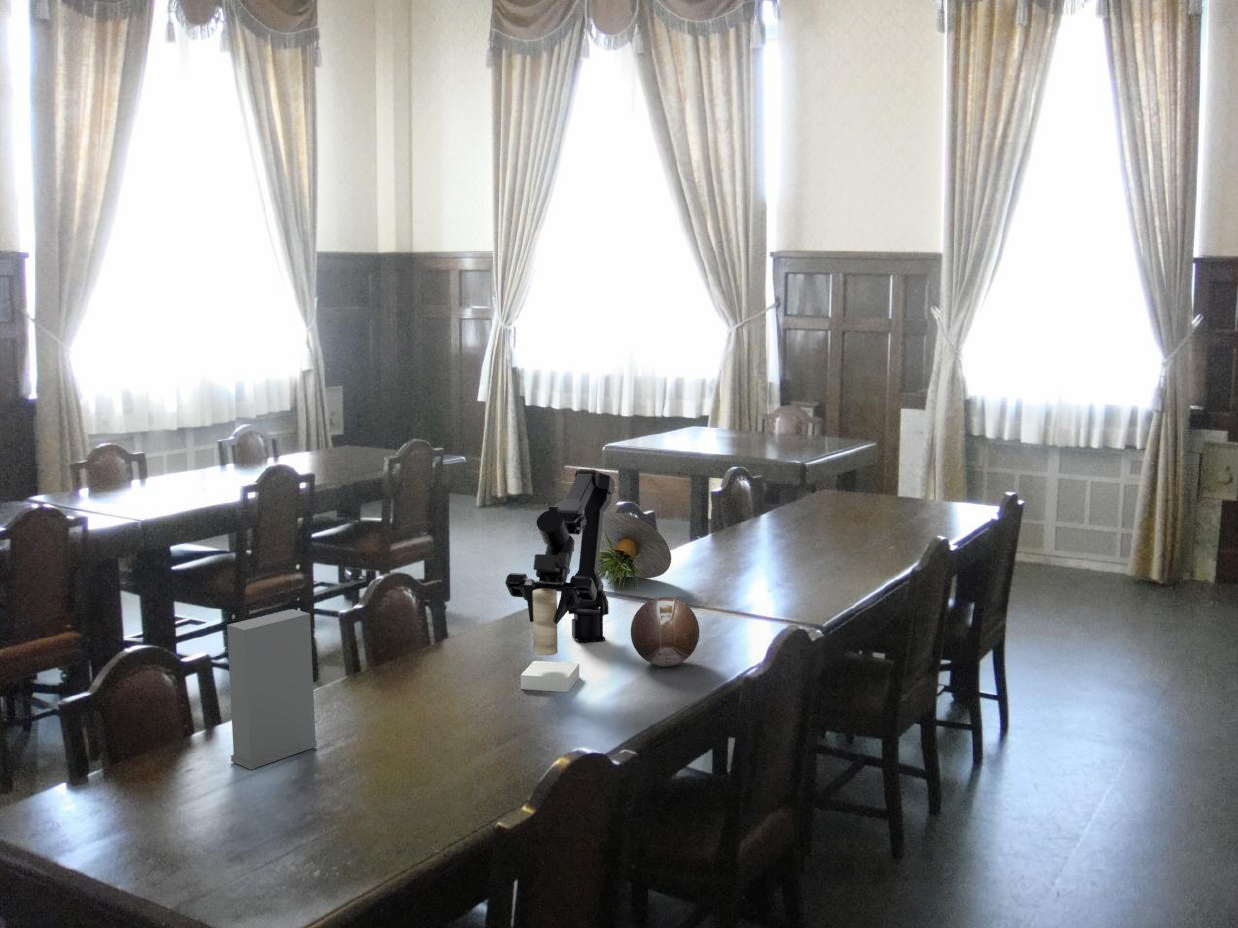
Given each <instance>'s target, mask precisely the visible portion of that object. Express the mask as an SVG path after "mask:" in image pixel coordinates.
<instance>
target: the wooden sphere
mask: <svg viewBox="0 0 1238 928" xmlns="http://www.w3.org/2000/svg"><path fill="white" fill-rule="evenodd" d="M630 639H631V642H632V643H631V644H632V645H633V648H634V649H635V652H637V654H638V655H639V656H640V657H641V658H642V659H643V660H644V661H645V662H647V663H649V664H652V665H653V666H657V667H664V668H665V667H672V666H677V665H679V664H681V663H683V662H684V661H686V660H687V659H688V658H689V657H690V656H691V655H692V654H693V653H694V652H695V650H696V648H697V646H698V643H699V639H700V625H699V622H698V618H697V616H696V614H695V612H694V611H693V610H692V608H691V607H689V606H688V605H687V603H684V602H683V601H681V600H679V599H678V598H677V599H676V598H674V597H666V596H663V597H661V596H660V597H656V598H653V599H650V600H648V601H647V602H645V603H644V604H643V605H642V606H640V607H639V608H638V610H637V611H636V613H635V614H634V616H633V619H632V621H631V626H630Z"/></svg>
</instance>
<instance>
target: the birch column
mask: <svg viewBox="0 0 1238 928" xmlns="http://www.w3.org/2000/svg"><path fill="white" fill-rule="evenodd" d="M557 593H558V591H556V590H554V589H546V588H545V589H536V590H534V591H533V622H532V626H533V627H532V628H533V629H532V634H533V636H532V638H533V639H532V641H533V645H532V646H533V654H534V655H537V656H542V657H545V656H554V655H556V654H558V652H559V651H558V624H555V622H554V621H555V615H556V611H557V608H558V596H557V595H558V594H557Z"/></svg>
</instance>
